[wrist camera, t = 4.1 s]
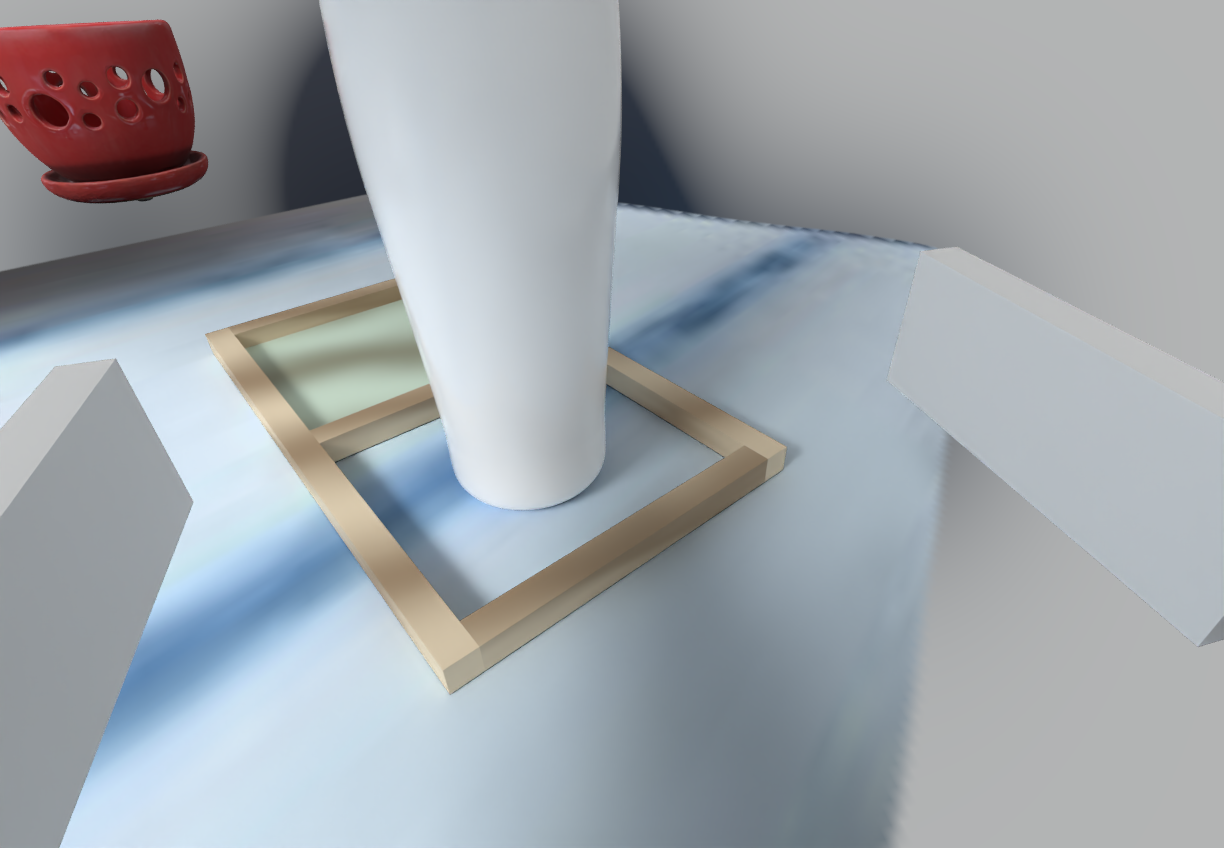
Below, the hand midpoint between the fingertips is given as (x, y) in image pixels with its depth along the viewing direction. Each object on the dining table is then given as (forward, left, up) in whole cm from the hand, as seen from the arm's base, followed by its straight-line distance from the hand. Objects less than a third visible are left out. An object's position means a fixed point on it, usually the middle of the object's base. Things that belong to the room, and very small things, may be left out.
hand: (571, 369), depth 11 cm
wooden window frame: (-13, +3, -9) cm, 16 cm away
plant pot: (-60, -1, -9) cm, 61 cm away
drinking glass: (-8, +3, -9) cm, 13 cm away
